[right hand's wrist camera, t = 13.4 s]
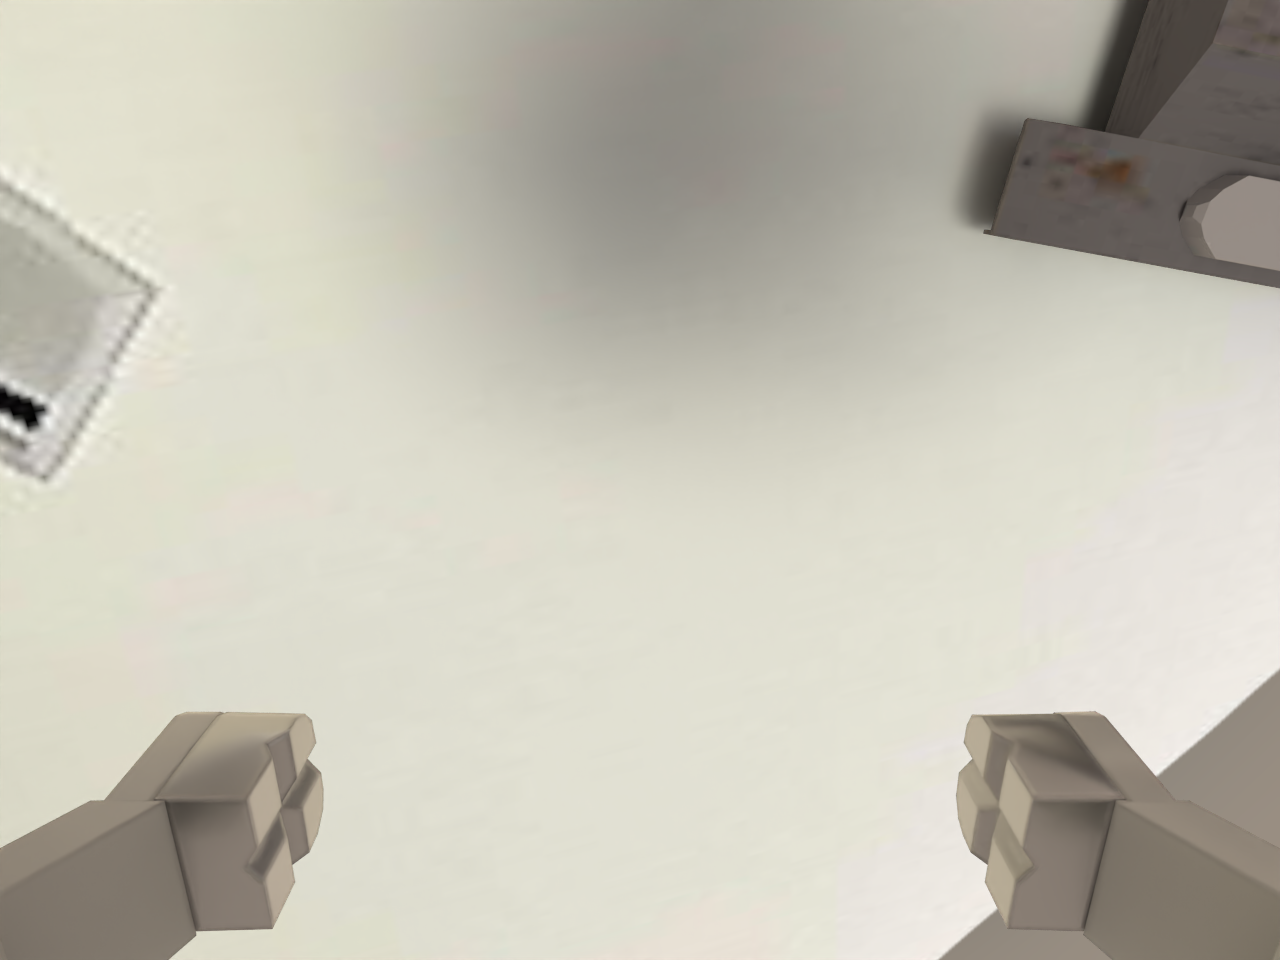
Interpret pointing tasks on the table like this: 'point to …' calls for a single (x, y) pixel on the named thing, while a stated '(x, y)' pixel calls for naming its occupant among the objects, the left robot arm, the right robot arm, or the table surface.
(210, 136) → the table surface
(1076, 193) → the toy
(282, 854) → the right robot arm
